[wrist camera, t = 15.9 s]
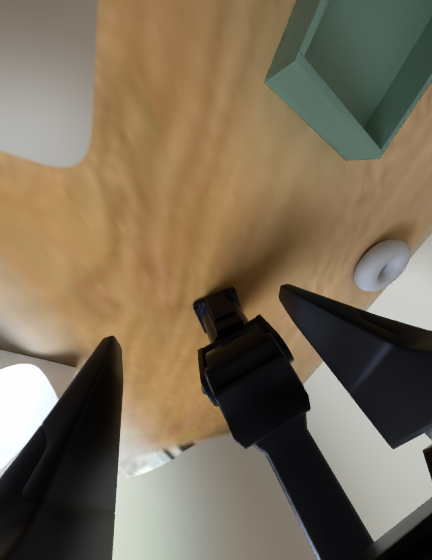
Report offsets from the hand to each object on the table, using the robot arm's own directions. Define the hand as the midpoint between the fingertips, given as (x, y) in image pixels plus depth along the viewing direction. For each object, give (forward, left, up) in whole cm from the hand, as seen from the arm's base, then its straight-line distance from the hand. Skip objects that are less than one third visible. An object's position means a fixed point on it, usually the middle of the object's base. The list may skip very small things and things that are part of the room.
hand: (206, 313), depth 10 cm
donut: (-18, -32, -13) cm, 39 cm away
